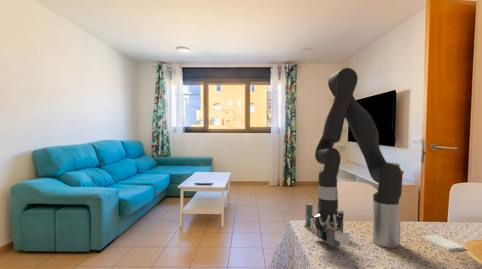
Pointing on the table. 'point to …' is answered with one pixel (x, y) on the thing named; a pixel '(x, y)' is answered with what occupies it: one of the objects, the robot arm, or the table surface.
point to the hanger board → (310, 215)
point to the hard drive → (442, 242)
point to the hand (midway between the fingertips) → (328, 239)
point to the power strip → (333, 235)
